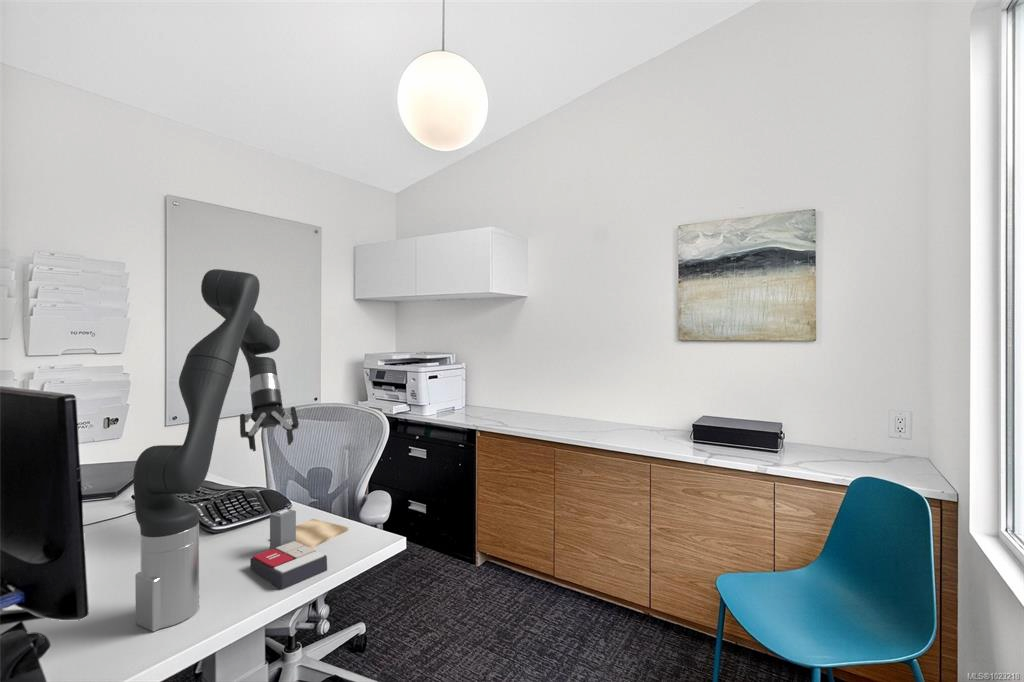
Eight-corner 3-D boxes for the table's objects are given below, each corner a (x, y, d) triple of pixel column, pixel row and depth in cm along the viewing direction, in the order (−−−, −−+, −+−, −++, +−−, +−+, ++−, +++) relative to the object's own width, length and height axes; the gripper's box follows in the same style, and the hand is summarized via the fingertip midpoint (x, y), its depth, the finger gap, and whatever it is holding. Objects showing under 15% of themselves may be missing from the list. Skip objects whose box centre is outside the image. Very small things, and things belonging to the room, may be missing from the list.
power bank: (280, 556, 115) (280, 515, 115) (270, 553, 116) (269, 512, 116) (296, 549, 119) (295, 509, 119) (285, 546, 120) (285, 507, 120)
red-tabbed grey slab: (295, 538, 117) (327, 552, 108) (295, 556, 117) (328, 571, 108) (249, 555, 109) (280, 571, 100) (249, 573, 109) (281, 591, 99)
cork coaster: (306, 550, 118) (306, 547, 118) (270, 540, 124) (270, 537, 124) (348, 530, 131) (348, 527, 131) (313, 521, 137) (313, 518, 137)
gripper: (236, 390, 125) (241, 448, 119) (293, 384, 132) (301, 437, 126) (237, 401, 130) (242, 457, 124) (292, 394, 138) (300, 446, 132)
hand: (272, 447), depth 125 cm, fingers open, 8 cm apart
